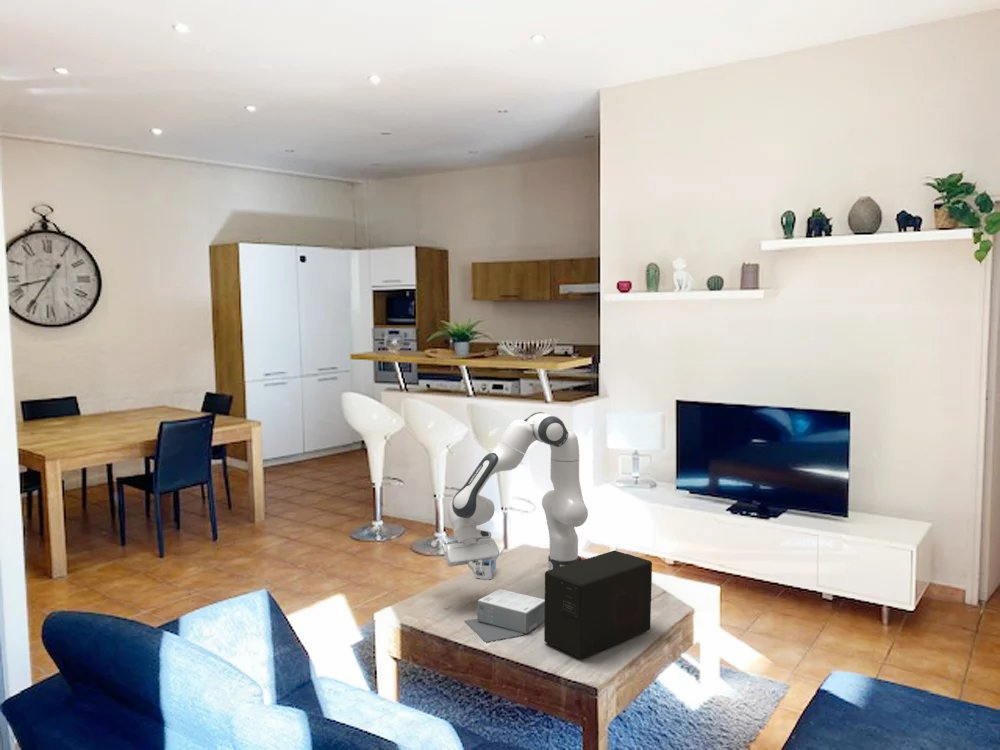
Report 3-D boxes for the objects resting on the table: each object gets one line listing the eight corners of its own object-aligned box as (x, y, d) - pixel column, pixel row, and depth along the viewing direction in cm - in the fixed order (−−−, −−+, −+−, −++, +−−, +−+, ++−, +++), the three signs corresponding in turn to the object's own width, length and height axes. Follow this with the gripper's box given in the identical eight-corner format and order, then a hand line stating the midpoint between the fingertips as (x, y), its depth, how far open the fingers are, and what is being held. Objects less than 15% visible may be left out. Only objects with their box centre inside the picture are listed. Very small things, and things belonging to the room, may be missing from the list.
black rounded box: (611, 613, 280) (612, 546, 278) (654, 630, 266) (656, 560, 264) (537, 642, 256) (537, 569, 254) (579, 662, 241) (580, 585, 239)
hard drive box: (476, 621, 271) (525, 634, 261) (476, 600, 271) (526, 612, 260) (499, 607, 285) (547, 620, 274) (499, 587, 284) (547, 599, 274)
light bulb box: (491, 580, 314) (491, 554, 314) (475, 579, 316) (475, 553, 315) (496, 571, 325) (496, 546, 324) (481, 570, 326) (481, 545, 325)
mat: (500, 615, 278) (500, 614, 278) (523, 635, 261) (523, 634, 261) (464, 621, 272) (464, 620, 272) (485, 642, 255) (485, 641, 255)
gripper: (443, 538, 280) (453, 573, 272) (494, 531, 289) (505, 564, 281) (439, 547, 284) (448, 581, 276) (489, 539, 293) (500, 572, 285)
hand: (477, 572), depth 279 cm, fingers closed
